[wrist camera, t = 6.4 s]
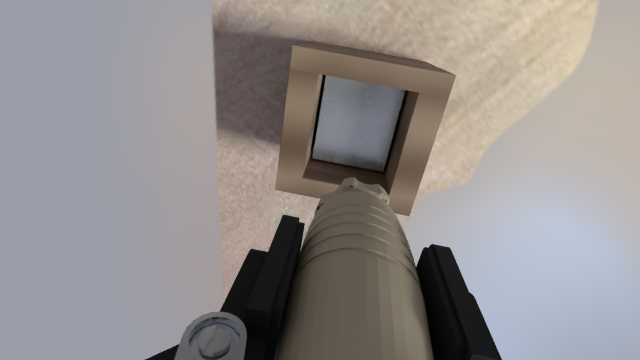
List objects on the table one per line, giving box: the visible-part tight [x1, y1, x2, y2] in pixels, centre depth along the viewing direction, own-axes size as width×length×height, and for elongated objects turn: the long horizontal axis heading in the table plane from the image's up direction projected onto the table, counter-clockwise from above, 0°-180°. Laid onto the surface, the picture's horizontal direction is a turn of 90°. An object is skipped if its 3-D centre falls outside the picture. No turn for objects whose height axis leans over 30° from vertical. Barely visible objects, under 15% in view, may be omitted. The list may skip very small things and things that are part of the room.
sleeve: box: [275, 41, 456, 216], centre depth 28 cm, size 11×11×10 cm
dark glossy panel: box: [313, 75, 405, 172], centre depth 28 cm, size 7×6×1 cm
